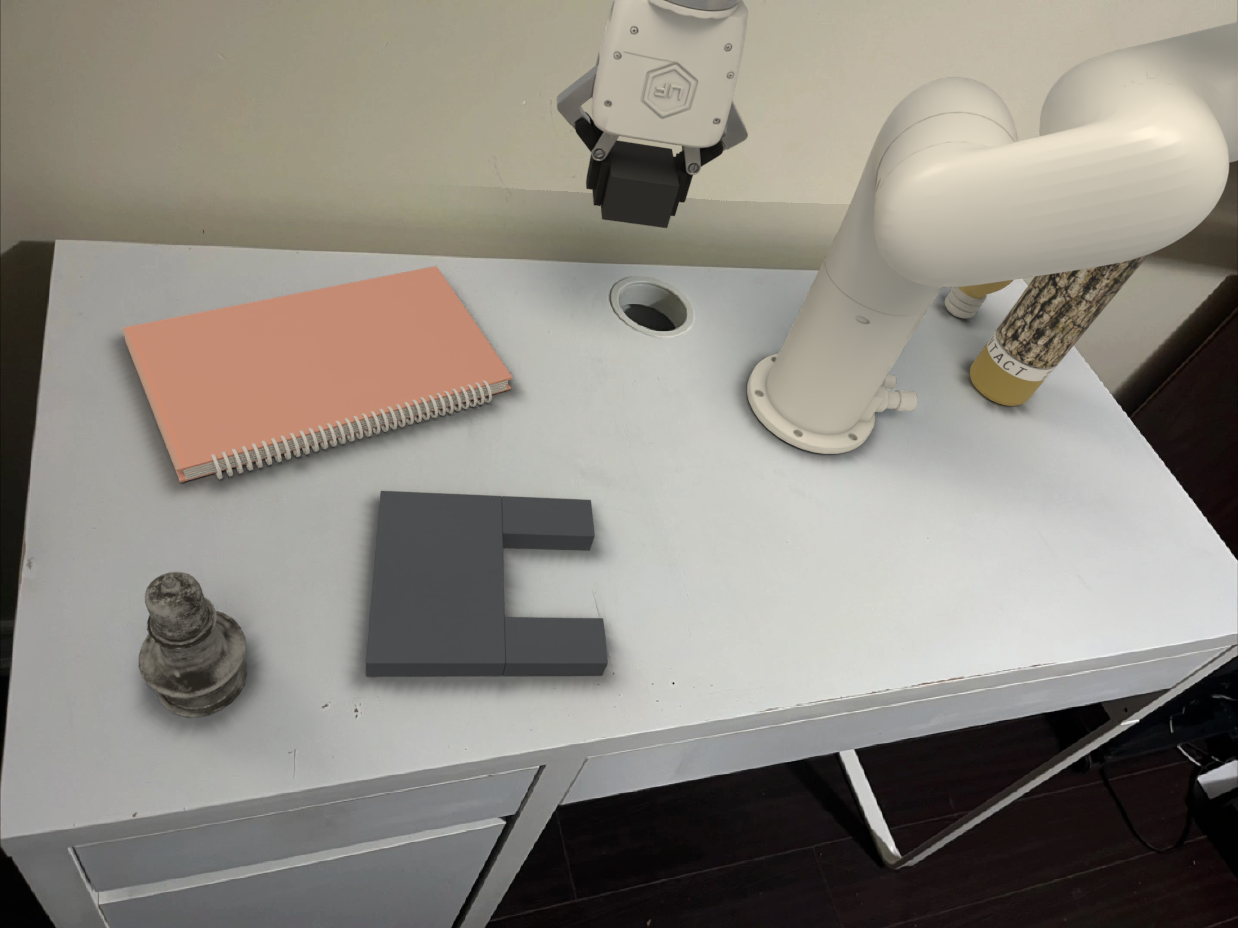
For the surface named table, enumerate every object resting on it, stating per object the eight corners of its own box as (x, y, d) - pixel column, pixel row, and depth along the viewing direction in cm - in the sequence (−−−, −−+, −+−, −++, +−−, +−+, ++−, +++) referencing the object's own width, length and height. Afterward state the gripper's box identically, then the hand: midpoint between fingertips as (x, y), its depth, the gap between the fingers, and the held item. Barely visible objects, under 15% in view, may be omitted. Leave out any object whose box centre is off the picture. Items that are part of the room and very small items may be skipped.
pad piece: (660, 190, 74) (672, 148, 71) (667, 228, 71) (679, 186, 68) (598, 181, 73) (607, 138, 70) (601, 219, 70) (611, 176, 67)
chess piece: (209, 619, 57) (177, 513, 48) (272, 673, 56) (251, 574, 47) (128, 682, 53) (78, 580, 44) (194, 741, 52) (155, 648, 43)
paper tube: (1003, 361, 95) (1158, 157, 76) (1039, 406, 91) (1211, 203, 72) (954, 365, 92) (1101, 156, 73) (989, 412, 88) (1153, 203, 70)
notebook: (185, 495, 63) (180, 478, 61) (125, 343, 70) (120, 324, 69) (516, 399, 76) (518, 383, 74) (435, 279, 83) (436, 263, 82)
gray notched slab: (586, 514, 69) (591, 499, 68) (602, 676, 60) (608, 663, 59) (380, 506, 66) (380, 490, 64) (366, 677, 57) (365, 663, 55)
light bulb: (970, 294, 102) (1017, 223, 94) (992, 331, 98) (1043, 260, 90) (923, 290, 100) (967, 218, 93) (943, 327, 96) (990, 255, 89)
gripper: (566, -30, 54) (530, 214, 68) (820, 18, 58) (737, 242, 71) (563, -75, 59) (530, 161, 72) (797, -28, 62) (724, 190, 76)
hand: (633, 199), depth 72 cm, fingers closed on pad piece, 5 cm apart
